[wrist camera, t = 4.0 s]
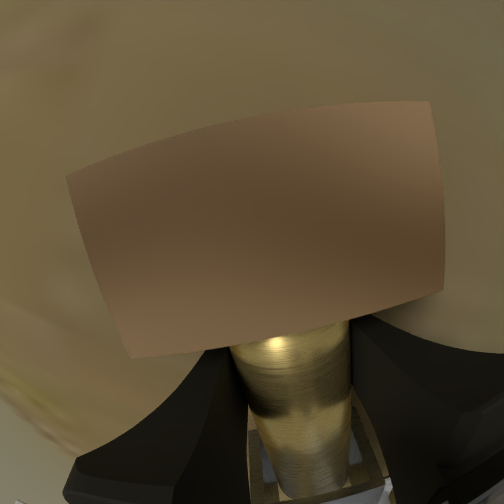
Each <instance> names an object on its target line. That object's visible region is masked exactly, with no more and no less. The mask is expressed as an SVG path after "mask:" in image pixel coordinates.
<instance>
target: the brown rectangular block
mask: <svg viewBox="0 0 504 504" xmlns="http://www.w3.org/2000/svg"><path fill="white" fill-rule="evenodd" d="M66 178H67V183H68V187H69V191H70V195H71V199H72V203H73V207H74V211H75V215H76V218H77V222H78V225H79V229H80V232H81V235H82V238H83V242H84V245H85V248H86V251H87V254H88V257H89V260H90V263H91V266H92V268H93V271H94V274H95V277H96V279H97V282H98V285H99V287H100V290H101V292H102V295H103V297H104V300H105V302H106V305H107V307H108V309H109V312H110V314H111V316H112V319H113V321H114V323H115V325H116V328H117V330H118V332H119V334H120V336H121V338H122V340H123V343H124V345H125V347H126V349H127V351H128V353H129V355H130V357H131V359H139V358H148V357H158V356H166V355H174V354H182V353H189V352H196V351H203V350H209V349H215V348H221V347H227V346H233V345H239V344H244V343H250V342H255V341H260V340H265V339H270V338H275V337H279V336H284V335H289V334H293V333H297V332H302V331H306V330H310V329H314V328H319V327H323V326H327V325H331V324H334V323H338V322H342V321H346V320H349V319H353V318H357V317H360V316H364V315H367V314H371V313H374V312H377V311H381V310H384V309H387V308H391V307H394V306H397V305H400V304H403V303H406V302H409V301H412V300H415V299H418V298H421V297H424V296H427V295H430V294H433V293H436V292H438V291H441V290H443V284H444V265H445V218H444V199H443V186H442V175H441V166H440V158H439V151H438V145H437V138H436V133H435V127H434V122H433V117H432V112H431V107H430V103H429V101H385V102H364V103H350V104H339V105H329V106H320V107H311V108H304V109H297V110H290V111H283V112H277V113H271V114H266V115H260V116H255V117H250V118H245V119H240V120H235V121H231V122H226V123H222V124H218V125H214V126H210V127H206V128H202V129H198V130H194V131H190V132H187V133H183V134H180V135H176V136H173V137H169V138H166V139H163V140H159V141H156V142H153V143H150V144H147V145H144V146H141V147H138V148H135V149H132V150H129V151H126V152H124V153H121V154H118V155H115V156H113V157H110V158H107V159H105V160H102V161H100V162H97V163H95V164H92V165H90V166H87V167H85V168H83V169H80V170H78V171H76V172H73V173H71V174H69V175H66Z"/></svg>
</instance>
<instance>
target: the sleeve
mask: <svg viewBox="0 0 504 504" xmlns="http://www.w3.org/2000/svg"><path fill="white" fill-rule="evenodd" d="M248 437H249V466H250V493H251V504H378V503H379V501H380V498H381V496H382V493H383V491H384V488H385V486H386V482H385V480H384V477H383V475H382V472H381V469H380V467H379V464H378V462H377V459H376V457H375V454H374V452H373V449H372V447H371V444H370V442H369V439H368V437H367V434H366V432H365V429H364V427H363V425H362V422H361V420H360V417H359V415H358V412H357V410H356V408H352V409H351V433H350V454H349V468H348V475H349V479H350V482H351V485H352V486H350V487H347V488H343V489H340V490H336V491H332V492H328V493H324V494H319V495H315V496H310V497H305V498H300V499H294V500H288V501H281V502H280V500H279V491H278V482H277V478H276V476H275V473H274V471H273V468H272V466H271V463H270V461H269V458H268V456H267V453H266V450H265V448H264V445H263V443H262V440H261V437H260V435H259V432H258V430H252V431H248Z"/></svg>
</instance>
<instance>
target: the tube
mask: <svg viewBox="0 0 504 504" xmlns="http://www.w3.org/2000/svg"><path fill="white" fill-rule="evenodd" d="M229 348H230V351H231V354H232V358H233V361H234V364H235V367H236V370H237V373H238V375H239V378H240V381H241V384H242V387H243V390H244V393H245V396H246V399H247V402H248V404H249V407H250V410H251V413H252V416H253V418H254V421H255V424H256V426H257V429H258V432H259V435H260V437H261V440H262V443H263V445H264V448H265V450H266V453H267V456H268V458H269V461H270V463H271V466H272V468H273V471H274V473H275V476H276V478H277V481H278V483H279V486H280V488H281V489H282V491H283V492H284V493H285V494H286V495H287V496H288V497H290V498H292V499H300V498H305V497H310V496H315V495H319V494H324V493H328V492H332V491H336V490H340V489H341V488H342V487H343V486H344V484H345V482H346V480H347V477H348V468H349V454H350V433H351V349H350V328H349V320H346V321H342V322H338V323H334V324H331V325H327V326H323V327H319V328H314V329H310V330H306V331H302V332H297V333H293V334H289V335H284V336H279V337H275V338H270V339H265V340H260V341H255V342H250V343H244V344H239V345H233V346H229Z"/></svg>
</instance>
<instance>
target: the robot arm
mask: <svg viewBox="0 0 504 504" xmlns="http://www.w3.org/2000/svg"><path fill="white" fill-rule="evenodd" d="M349 328H350V349H351V383H352V385H353V387H354V389H355V391H356V393H357V395H358V397H359V399H360V401H361V403H362V405H363V406H364V408H365V410H366V412H367V414H368V416H369V418H370V420H371V422H372V425H373V427H374V429H375V432H376V435H377V438H378V441H379V444H380V446H381V449H382V452H383V456H384V459H385V462H386V465H387V468H388V472H389V475H390V477H389V478H386V479H384V480H385V482H386V486H385V488H384V491H383V493H382V496H381V498H380V501H379V503H378V504H391V503H390V500H389V497H388V496H389V494H390V492H391V490H392V488H393V490H394V494H395V499H396V503H397V504H481V503H482V504H504V354H496V353H484V352H475V351H468V350H463V349H458V348H453V347H449V346H445V345H441V344H438V343H434V342H431V341H428V340H425V339H422V338H419V337H417V336H414V335H412V334H410V333H407V332H405V331H403V330H400V329H398V328H396V327H394V326H392V325H390V324H388V323H386V322H384V321H382V320H380V319H378V318H376V317H375V316H373V315H371V314H367V315H364V316H360V317H357V318H353V319H349ZM247 421H248V402H247V399H246V396H245V393H244V390H243V387H242V384H241V381H240V378H239V375H238V373H237V370H236V367H235V364H234V361H233V358H232V354H231V351H230V348H229V346H227V347H221V348H215V349H209V350H205V352H204V353H203V355H202V356H201V357H200V359H199V360H198V362H197V363H196V365H195V366H194V367H193V369H192V370H191V371H190V373H189V374H188V375H187V376H186V378H185V379H184V380H183V381H182V383H181V384H180V385H179V386H178V388H177V389H176V390H175V391H174V392H173V393H172V394H171V395H170V396H169V397H168V398H167V399H166V400H165V401H164V402H163V403H162V404H161V405H160V406H159V407H158V408H157V409H155V410H154V411H153V412H152V413H151V414H149V415H148V416H147V417H146V418H144V419H143V420H142V421H141V422H139V423H138V424H137V425H136V426H134V427H133V428H131V429H130V430H128V431H127V432H125V433H124V434H122V435H121V436H119V437H117V438H116V439H114V440H112V441H111V442H109V443H107V444H105V445H103V446H101V447H99V448H97V449H95V450H93V451H91V452H89V453H86V454H84V455H82V456H80V457H77V458H76V460H75V463H74V465H73V467H72V470H71V472H70V474H69V477H68V479H67V482H66V484H65V487H64V489H63V496H64V498H65V500H66V501H67V502H68V503H69V504H251V500H250V490H249V481H248V469H247V453H246V445H247ZM15 504H26V503H24V502H22V501H20V500H16V502H15Z"/></svg>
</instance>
